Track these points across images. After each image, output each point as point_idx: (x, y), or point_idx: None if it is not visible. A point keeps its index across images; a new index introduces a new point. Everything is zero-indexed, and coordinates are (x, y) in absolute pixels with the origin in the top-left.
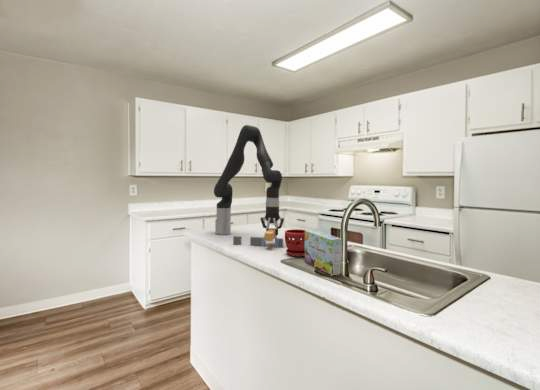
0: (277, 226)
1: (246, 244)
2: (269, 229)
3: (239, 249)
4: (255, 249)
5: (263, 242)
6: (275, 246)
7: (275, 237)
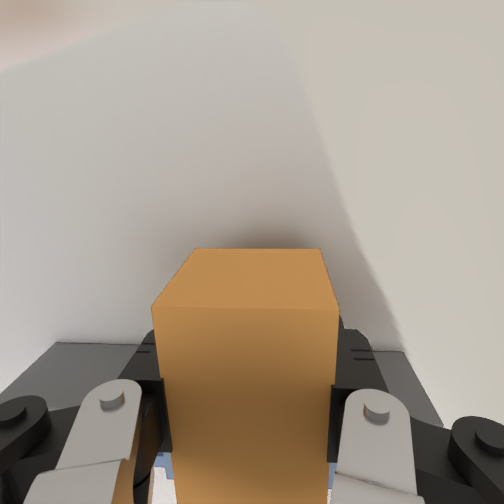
0: (395, 465)
1: (9, 338)
2: (191, 445)
3: None
4: (160, 477)
5: None
6: None
7: (333, 476)
